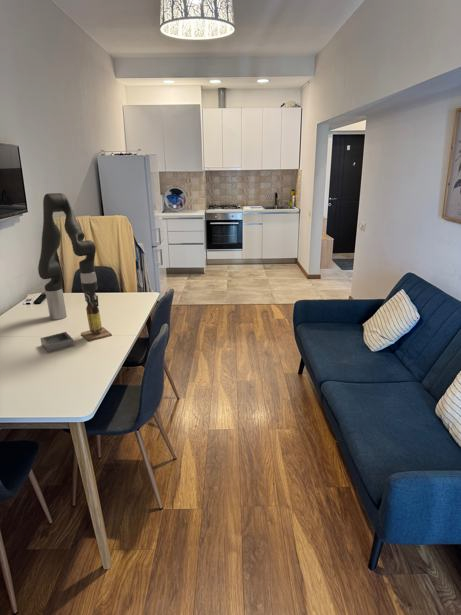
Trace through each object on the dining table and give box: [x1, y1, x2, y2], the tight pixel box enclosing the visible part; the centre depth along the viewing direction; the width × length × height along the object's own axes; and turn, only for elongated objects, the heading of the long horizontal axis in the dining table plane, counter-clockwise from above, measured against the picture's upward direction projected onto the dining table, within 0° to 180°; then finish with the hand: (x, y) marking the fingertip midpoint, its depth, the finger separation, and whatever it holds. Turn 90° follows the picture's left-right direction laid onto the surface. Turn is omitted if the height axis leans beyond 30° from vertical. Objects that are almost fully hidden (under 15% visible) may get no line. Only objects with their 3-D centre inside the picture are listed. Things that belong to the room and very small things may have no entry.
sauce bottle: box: [85, 296, 103, 333], centre depth 213 cm, size 7×6×20 cm
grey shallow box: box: [40, 331, 75, 354], centre depth 204 cm, size 11×12×4 cm
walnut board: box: [80, 326, 113, 342], centre depth 217 cm, size 12×12×1 cm
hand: (93, 311), depth 213 cm, fingers closed on sauce bottle, 6 cm apart
